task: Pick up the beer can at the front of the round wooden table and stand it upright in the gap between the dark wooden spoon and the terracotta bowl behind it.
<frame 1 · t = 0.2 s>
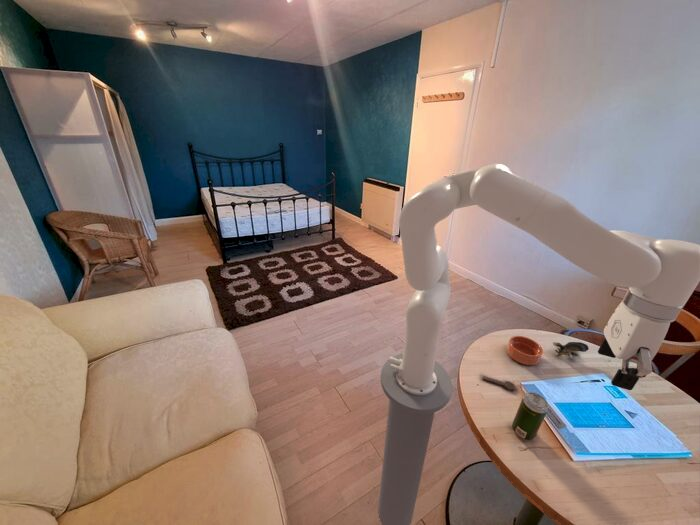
hand: (612, 369, 61), 25 cm above the table, tool pointing down, fingers open, 9 cm apart
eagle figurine: (566, 355, 99), on the table
spoon: (498, 383, 87), on the table
beer can: (522, 432, 74), on the table
bowl: (522, 355, 98), on the table
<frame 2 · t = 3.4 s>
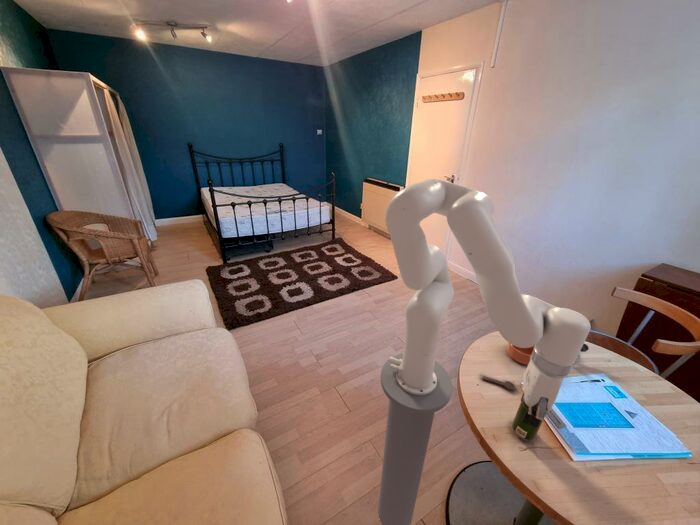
hand: (528, 413, 71), 7 cm above the table, tool pointing down, fingers closed on beer can, 5 cm apart
beer can: (522, 432, 74), on the table, touching gripper
everything else where it was.
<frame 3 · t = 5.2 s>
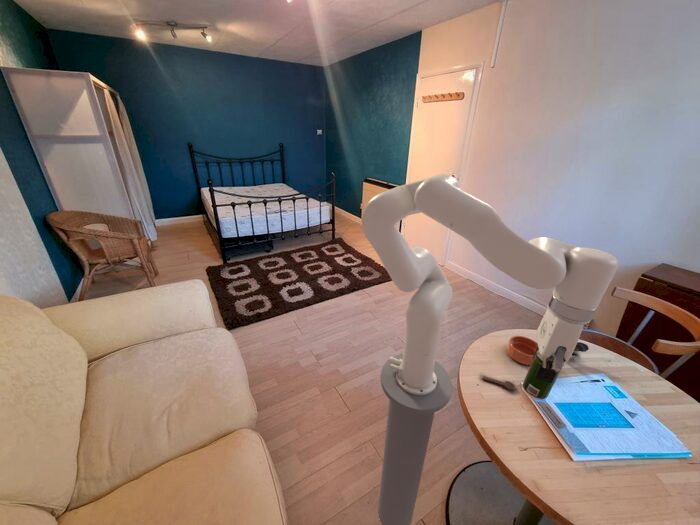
hand: (541, 369, 66), 21 cm above the table, tool pointing down, fingers closed on beer can, 5 cm apart
beer can: (533, 391, 69), point 14 cm above the table, touching gripper
everything else where it was.
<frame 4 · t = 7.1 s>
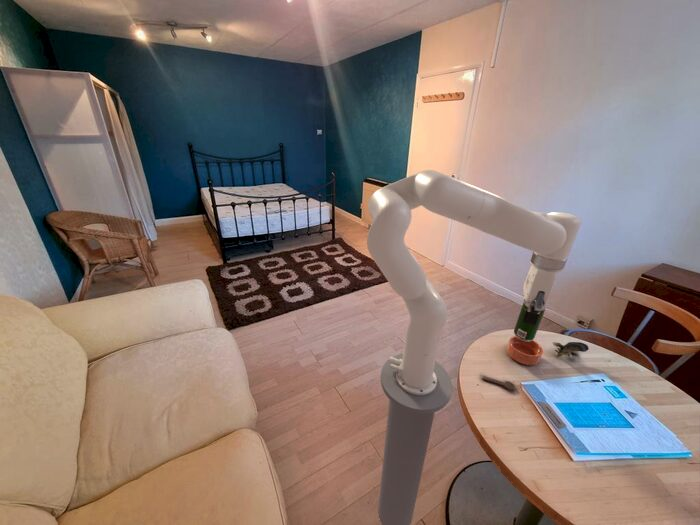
hand: (528, 316, 81), 23 cm above the table, tool pointing down, fingers closed on beer can, 5 cm apart
beer can: (523, 336, 84), point 16 cm above the table, touching gripper
everything else where it was.
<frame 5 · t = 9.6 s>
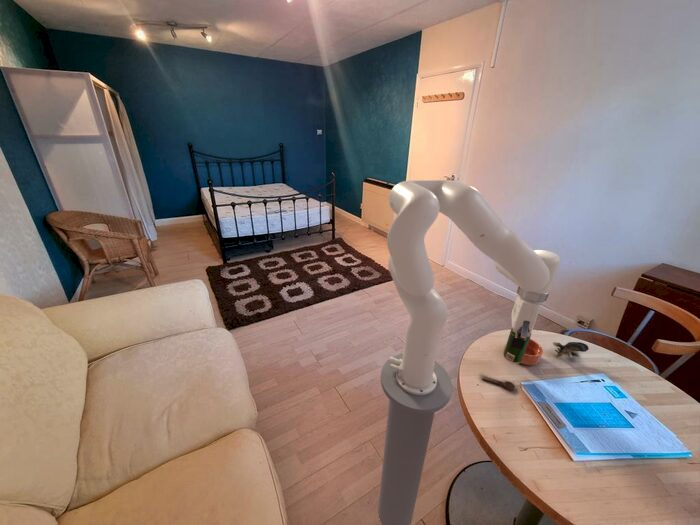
hand: (515, 340, 88), 11 cm above the table, tool pointing down, fingers closed on beer can, 5 cm apart
beer can: (511, 358, 91), point 4 cm above the table, touching gripper
everything else where it was.
when the fingers open (7 cm above the table, at t = 11.2 s): beer can stays where it is, on the table.
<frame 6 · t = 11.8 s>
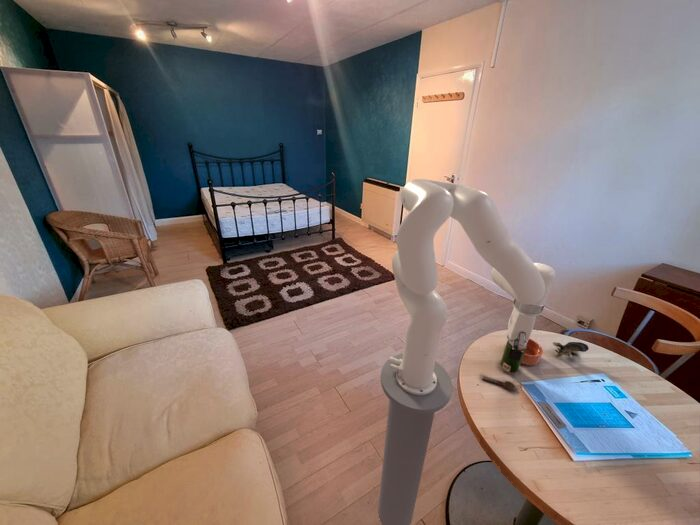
hand: (512, 348, 90), 8 cm above the table, tool pointing down, fingers open, 9 cm apart
beer can: (508, 368, 93), on the table
everything else where it was.
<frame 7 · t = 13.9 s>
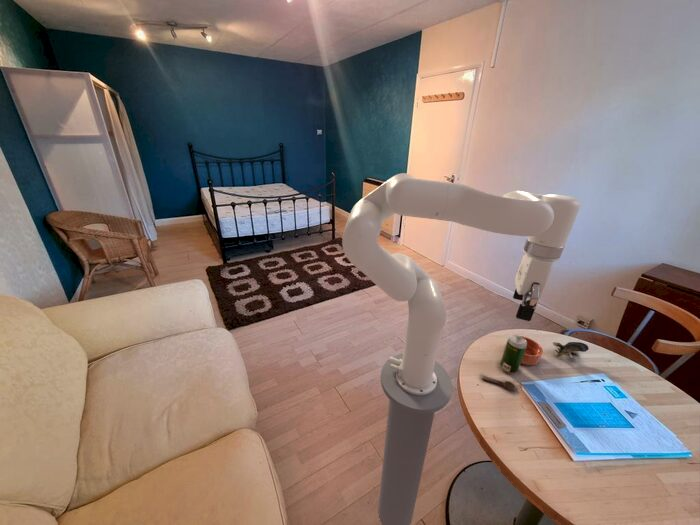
hand: (520, 308, 74), 29 cm above the table, tool pointing down, fingers open, 9 cm apart
nothing on the table moved.
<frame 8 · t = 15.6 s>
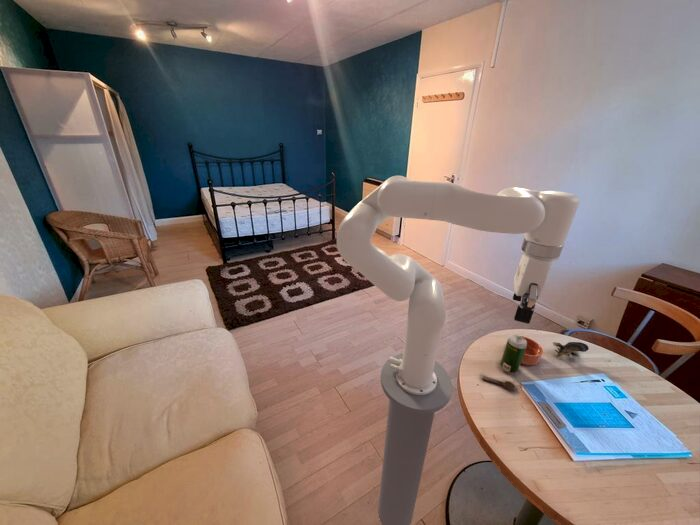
hand: (520, 310, 71), 30 cm above the table, tool pointing down, fingers open, 9 cm apart
nothing on the table moved.
at the end: beer can inside the target area on the table beside the bowl (0.5 cm from its centre), on the table; beer can 8.8 cm from the spoon (horizontally); beer can tilted 0° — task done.
